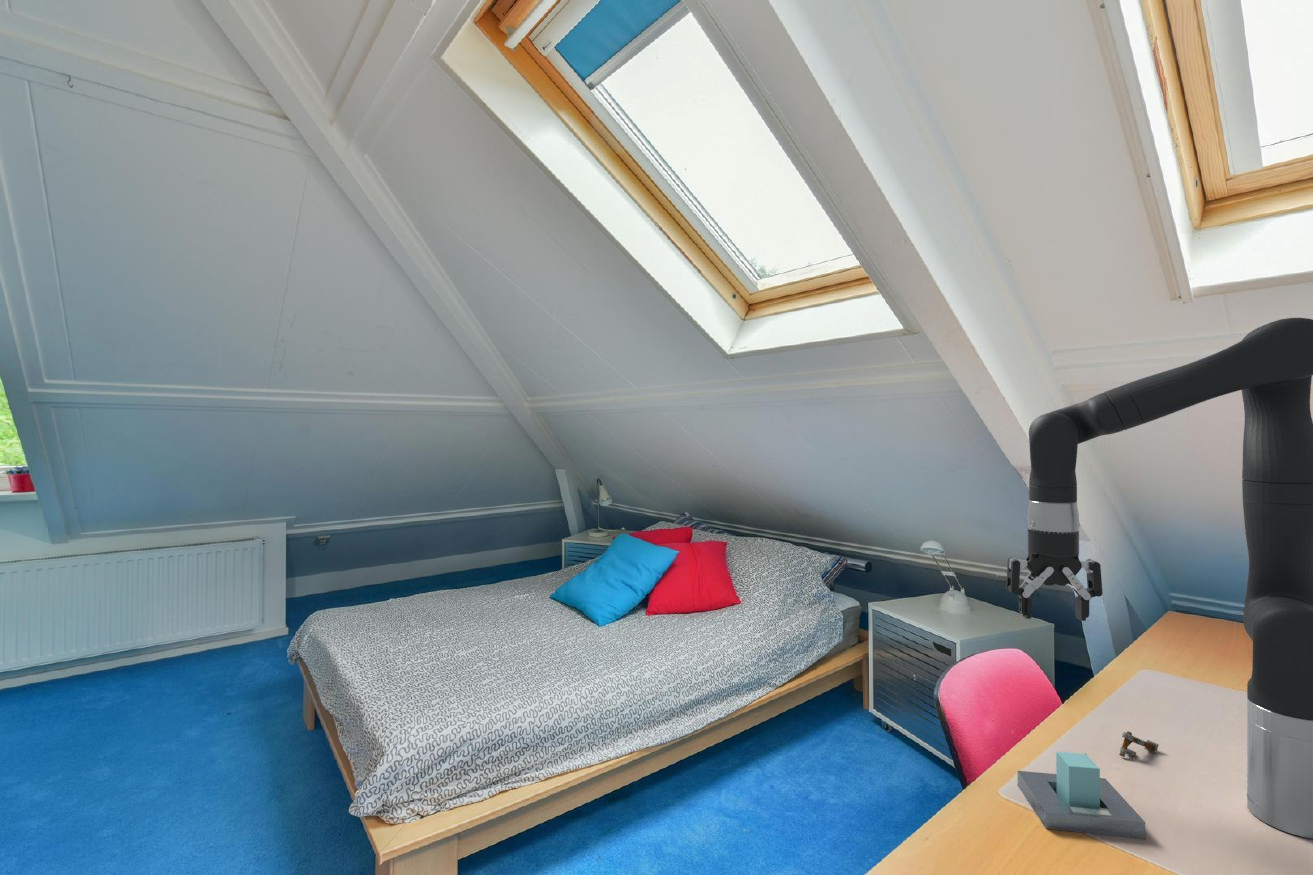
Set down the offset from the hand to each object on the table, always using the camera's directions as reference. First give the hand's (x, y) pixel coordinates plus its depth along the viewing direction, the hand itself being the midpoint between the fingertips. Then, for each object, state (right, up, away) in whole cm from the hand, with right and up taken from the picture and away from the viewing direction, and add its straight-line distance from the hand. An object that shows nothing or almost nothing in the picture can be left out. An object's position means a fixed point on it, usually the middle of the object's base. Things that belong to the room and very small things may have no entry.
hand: (1053, 618), depth 106 cm
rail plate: (-4, -26, -12) cm, 29 cm away
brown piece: (+18, -26, +3) cm, 32 cm away
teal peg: (-4, -27, -12) cm, 29 cm away
